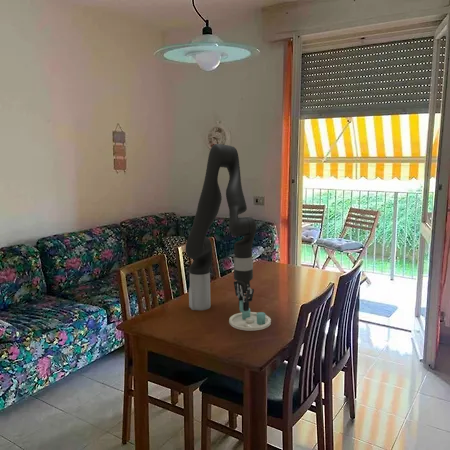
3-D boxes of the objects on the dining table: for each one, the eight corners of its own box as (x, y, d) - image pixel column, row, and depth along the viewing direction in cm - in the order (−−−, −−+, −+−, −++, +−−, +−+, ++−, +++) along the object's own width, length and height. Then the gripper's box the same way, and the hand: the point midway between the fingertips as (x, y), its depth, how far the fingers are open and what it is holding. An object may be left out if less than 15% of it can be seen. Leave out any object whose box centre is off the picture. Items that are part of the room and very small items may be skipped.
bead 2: (243, 320, 178) (243, 311, 177) (240, 317, 181) (240, 308, 181) (251, 319, 179) (251, 310, 178) (248, 316, 182) (248, 307, 182)
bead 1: (246, 312, 170) (246, 303, 169) (238, 311, 171) (238, 302, 170) (249, 309, 173) (249, 300, 172) (241, 308, 174) (241, 299, 173)
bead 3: (260, 325, 173) (260, 315, 172) (255, 322, 176) (255, 313, 175) (267, 323, 175) (267, 314, 174) (261, 320, 177) (261, 311, 177)
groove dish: (237, 334, 166) (237, 329, 165) (224, 318, 182) (224, 313, 181) (277, 329, 171) (277, 323, 170) (261, 314, 187) (261, 309, 186)
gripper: (260, 270, 164) (260, 313, 167) (243, 262, 177) (244, 302, 180) (242, 273, 161) (243, 316, 164) (227, 264, 174) (228, 305, 177)
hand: (243, 308), depth 172 cm, fingers closed on bead 1, 3 cm apart
